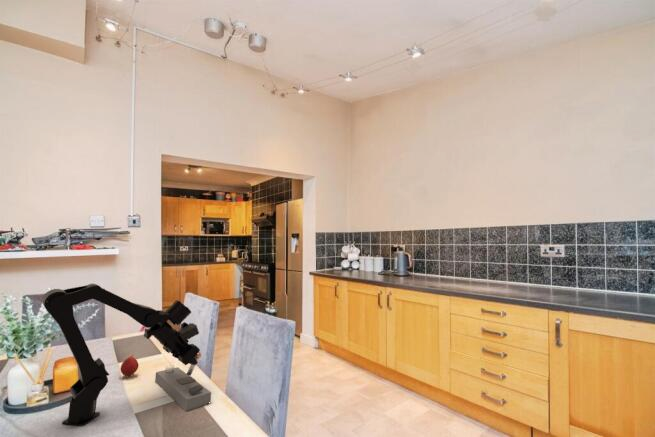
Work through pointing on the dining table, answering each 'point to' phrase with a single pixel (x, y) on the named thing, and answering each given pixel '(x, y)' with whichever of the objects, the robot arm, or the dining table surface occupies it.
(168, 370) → the push button
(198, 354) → the toggle lever
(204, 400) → the switch panel
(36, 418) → the dining table surface
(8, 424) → the dining table surface
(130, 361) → the onion
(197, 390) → the rocker
